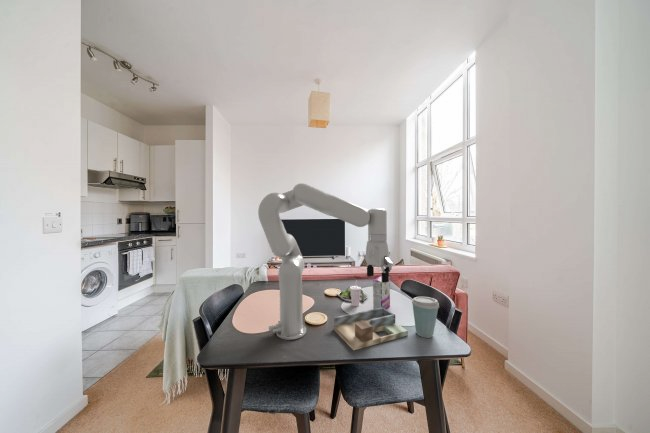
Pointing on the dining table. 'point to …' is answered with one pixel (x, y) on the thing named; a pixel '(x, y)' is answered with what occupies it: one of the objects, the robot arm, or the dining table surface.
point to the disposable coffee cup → (425, 315)
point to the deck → (376, 318)
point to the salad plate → (348, 295)
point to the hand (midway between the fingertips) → (377, 278)
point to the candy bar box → (381, 293)
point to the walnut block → (363, 331)
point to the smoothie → (355, 294)
